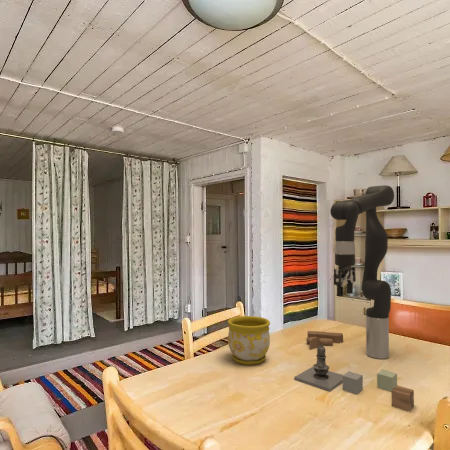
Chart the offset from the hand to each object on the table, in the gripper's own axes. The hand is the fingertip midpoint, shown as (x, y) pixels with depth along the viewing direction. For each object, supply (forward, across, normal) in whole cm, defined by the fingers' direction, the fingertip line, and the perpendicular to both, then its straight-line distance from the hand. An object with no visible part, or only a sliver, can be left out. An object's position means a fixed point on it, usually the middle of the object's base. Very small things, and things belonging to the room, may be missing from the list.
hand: (345, 294), depth 134 cm
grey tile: (+30, +12, -4) cm, 33 cm away
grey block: (+30, +12, +8) cm, 33 cm away
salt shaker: (+29, +12, -4) cm, 32 cm away
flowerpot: (+30, +15, -36) cm, 49 cm away
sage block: (+30, +2, +16) cm, 34 cm away
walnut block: (+30, +12, +24) cm, 40 cm away
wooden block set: (+31, -25, -21) cm, 45 cm away
